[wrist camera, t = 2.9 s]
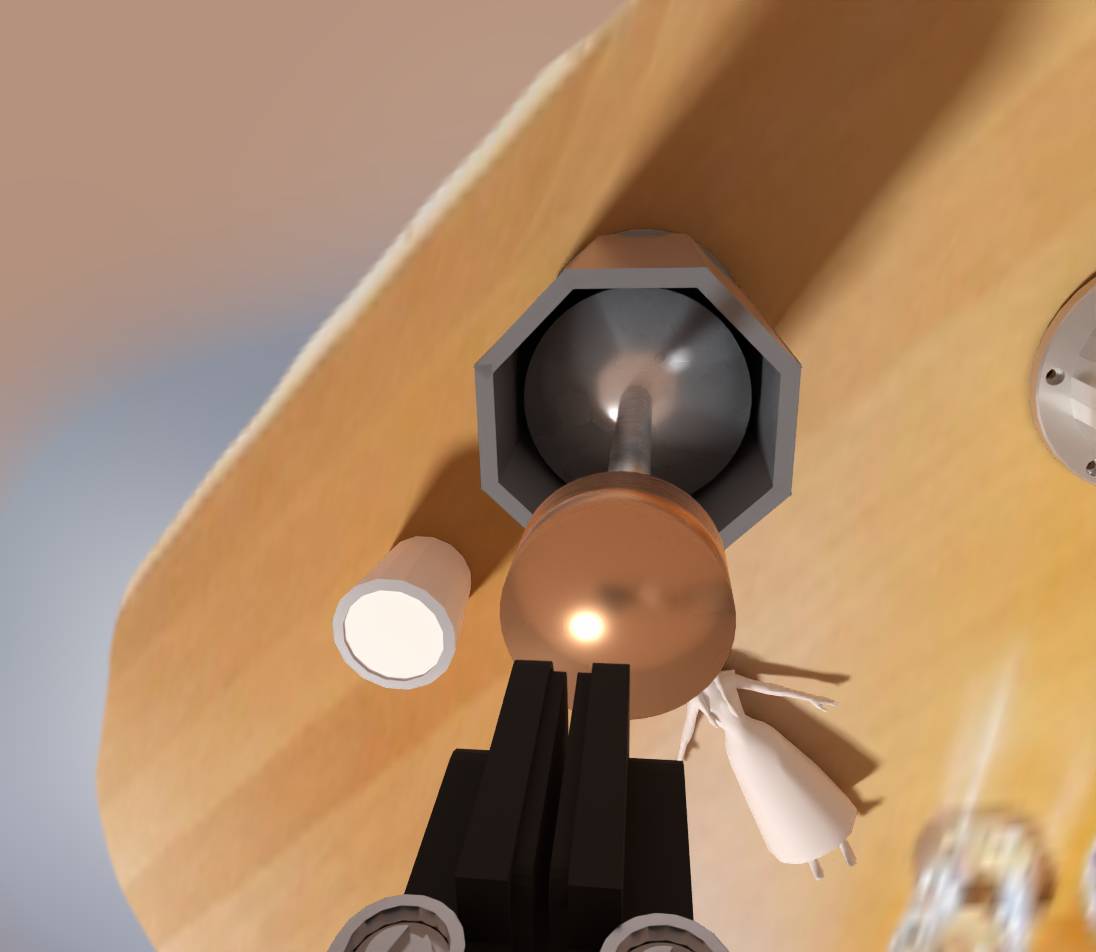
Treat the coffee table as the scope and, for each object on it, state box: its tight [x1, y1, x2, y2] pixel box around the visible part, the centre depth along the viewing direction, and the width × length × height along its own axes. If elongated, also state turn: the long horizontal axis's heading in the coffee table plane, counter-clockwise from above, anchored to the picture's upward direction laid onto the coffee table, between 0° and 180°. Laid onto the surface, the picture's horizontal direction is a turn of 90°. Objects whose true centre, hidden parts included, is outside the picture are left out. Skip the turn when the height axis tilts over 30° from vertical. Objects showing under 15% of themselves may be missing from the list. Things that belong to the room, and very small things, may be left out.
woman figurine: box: [677, 669, 858, 880], centre depth 50 cm, size 12×4×18 cm
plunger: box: [500, 288, 752, 720], centre depth 23 cm, size 8×8×17 cm
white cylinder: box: [333, 536, 471, 690], centre depth 47 cm, size 7×7×7 cm
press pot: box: [474, 229, 802, 550], centre depth 36 cm, size 11×14×18 cm
